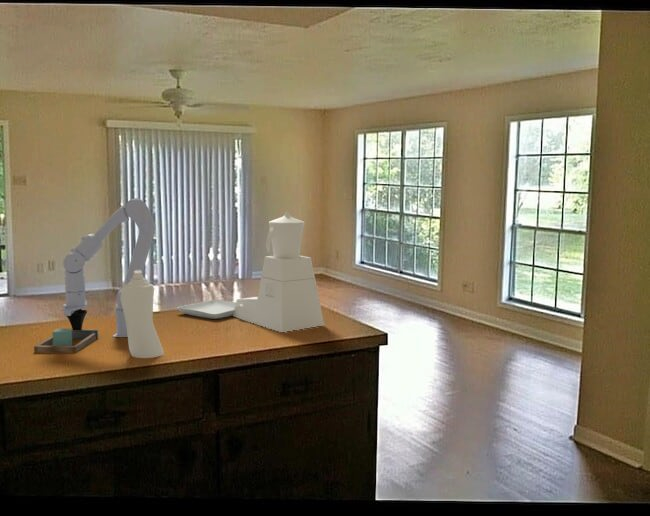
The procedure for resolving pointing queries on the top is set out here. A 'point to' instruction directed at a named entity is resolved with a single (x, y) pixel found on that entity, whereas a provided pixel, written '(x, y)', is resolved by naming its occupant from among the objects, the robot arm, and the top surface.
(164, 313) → the top surface
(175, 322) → the top surface
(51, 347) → the bay
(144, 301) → the white bottle
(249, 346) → the top surface
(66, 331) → the teal block
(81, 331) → the gate
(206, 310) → the salad plate
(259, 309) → the blender
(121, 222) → the robot arm
